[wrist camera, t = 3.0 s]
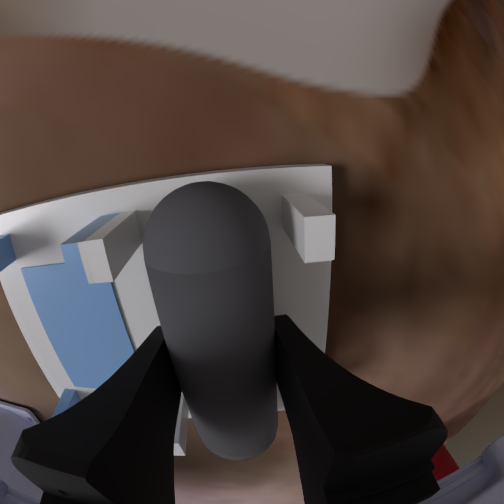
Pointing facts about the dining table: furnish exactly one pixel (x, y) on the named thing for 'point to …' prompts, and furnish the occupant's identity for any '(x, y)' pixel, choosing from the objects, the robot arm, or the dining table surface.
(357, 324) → the dining table surface
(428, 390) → the dining table surface
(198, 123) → the dining table surface
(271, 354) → the dark grey capsule
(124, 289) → the board
